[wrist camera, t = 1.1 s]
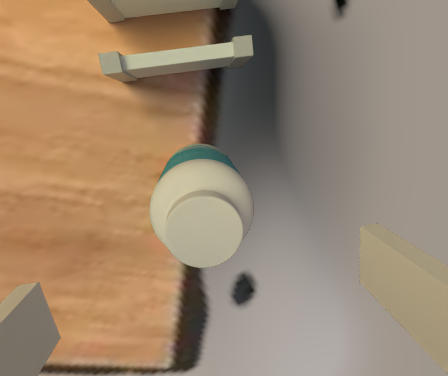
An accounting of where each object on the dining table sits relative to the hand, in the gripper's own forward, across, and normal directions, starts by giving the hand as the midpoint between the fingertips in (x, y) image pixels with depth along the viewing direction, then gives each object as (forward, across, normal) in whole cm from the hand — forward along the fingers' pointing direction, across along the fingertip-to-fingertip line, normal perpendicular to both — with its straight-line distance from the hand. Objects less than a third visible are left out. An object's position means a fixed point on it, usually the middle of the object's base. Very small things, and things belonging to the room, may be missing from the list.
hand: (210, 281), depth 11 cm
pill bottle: (+18, 0, 0) cm, 18 cm away
